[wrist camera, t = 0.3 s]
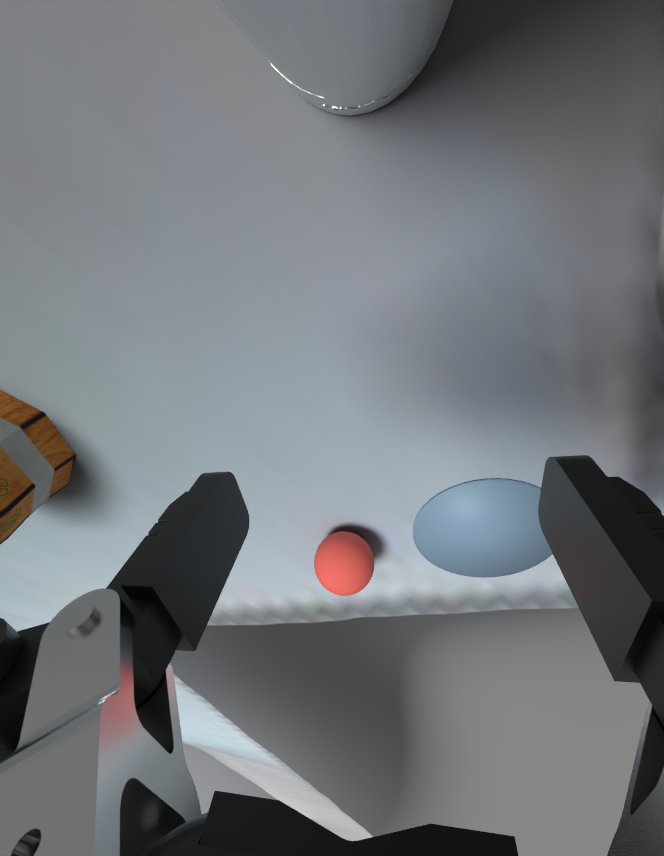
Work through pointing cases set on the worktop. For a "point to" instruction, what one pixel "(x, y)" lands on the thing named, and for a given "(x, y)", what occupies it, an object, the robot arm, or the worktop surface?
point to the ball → (344, 563)
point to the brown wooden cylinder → (28, 462)
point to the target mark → (483, 528)
